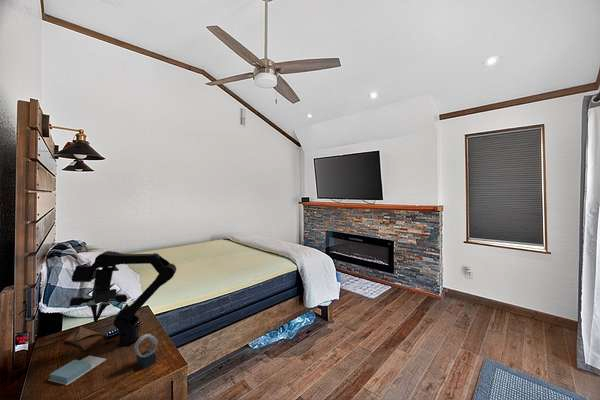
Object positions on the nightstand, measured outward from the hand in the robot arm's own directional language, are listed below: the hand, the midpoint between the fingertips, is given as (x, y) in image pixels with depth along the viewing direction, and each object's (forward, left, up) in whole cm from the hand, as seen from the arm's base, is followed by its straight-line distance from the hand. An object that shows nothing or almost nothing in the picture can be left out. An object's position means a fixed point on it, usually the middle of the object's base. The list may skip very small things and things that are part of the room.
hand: (95, 322), depth 106 cm
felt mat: (+9, +4, -13) cm, 16 cm away
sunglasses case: (-5, -13, -13) cm, 19 cm away
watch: (0, +25, -13) cm, 28 cm away
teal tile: (+8, +4, -11) cm, 15 cm away
